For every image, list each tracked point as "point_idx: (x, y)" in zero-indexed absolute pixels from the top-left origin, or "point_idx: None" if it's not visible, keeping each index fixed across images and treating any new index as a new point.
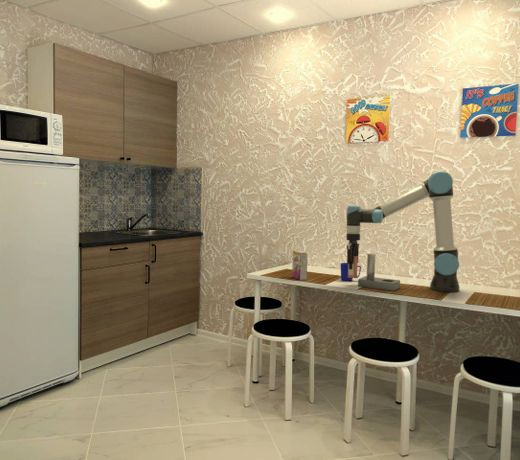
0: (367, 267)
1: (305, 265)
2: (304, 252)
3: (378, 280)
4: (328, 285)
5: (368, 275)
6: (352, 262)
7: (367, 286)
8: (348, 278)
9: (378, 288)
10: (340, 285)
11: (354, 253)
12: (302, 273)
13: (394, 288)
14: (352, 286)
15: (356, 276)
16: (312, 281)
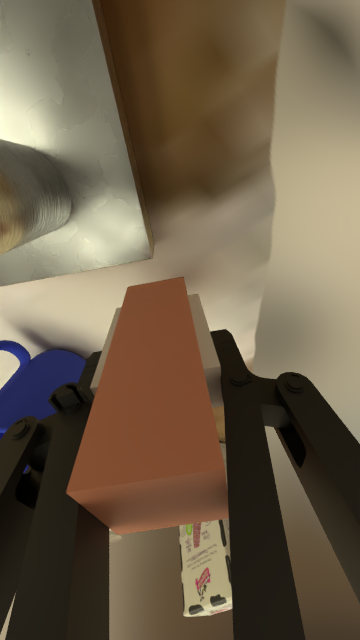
0: (5, 236)
1: None
2: (230, 603)
3: (22, 39)
4: (251, 351)
5: (55, 197)
6: (251, 380)
7: (136, 166)
8: (76, 361)
9: (106, 30)
10: (211, 320)
11: (88, 589)
12: (226, 468)
13: None
14: (188, 264)
15: (141, 287)
16: (215, 418)
